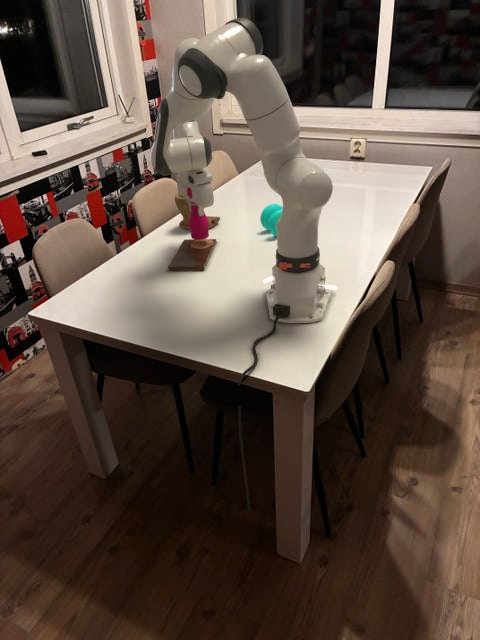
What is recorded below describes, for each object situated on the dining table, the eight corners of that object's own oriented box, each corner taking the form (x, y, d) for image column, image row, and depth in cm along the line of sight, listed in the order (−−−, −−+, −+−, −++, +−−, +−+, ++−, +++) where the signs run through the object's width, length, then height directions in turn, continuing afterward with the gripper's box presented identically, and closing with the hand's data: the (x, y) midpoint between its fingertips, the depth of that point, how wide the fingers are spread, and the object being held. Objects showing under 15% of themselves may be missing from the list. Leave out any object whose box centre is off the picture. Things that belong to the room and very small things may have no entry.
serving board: (203, 270, 160) (203, 265, 159) (168, 270, 162) (167, 266, 161) (216, 242, 178) (216, 238, 177) (184, 243, 180) (184, 238, 179)
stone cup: (173, 231, 190) (167, 194, 182) (186, 220, 199) (181, 184, 191) (209, 234, 185) (204, 195, 177) (221, 222, 194) (217, 185, 186)
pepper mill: (187, 234, 174) (180, 178, 163) (206, 230, 176) (201, 175, 165) (193, 242, 168) (187, 184, 157) (213, 237, 170) (208, 180, 160)
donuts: (284, 225, 186) (283, 200, 180) (296, 234, 178) (295, 208, 172) (259, 231, 183) (258, 205, 178) (270, 240, 175) (269, 214, 170)
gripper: (169, 168, 166) (175, 207, 174) (197, 181, 151) (202, 223, 159) (186, 164, 169) (191, 203, 176) (215, 176, 154) (219, 218, 161)
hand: (197, 213), depth 167 cm, fingers closed on pepper mill, 4 cm apart
